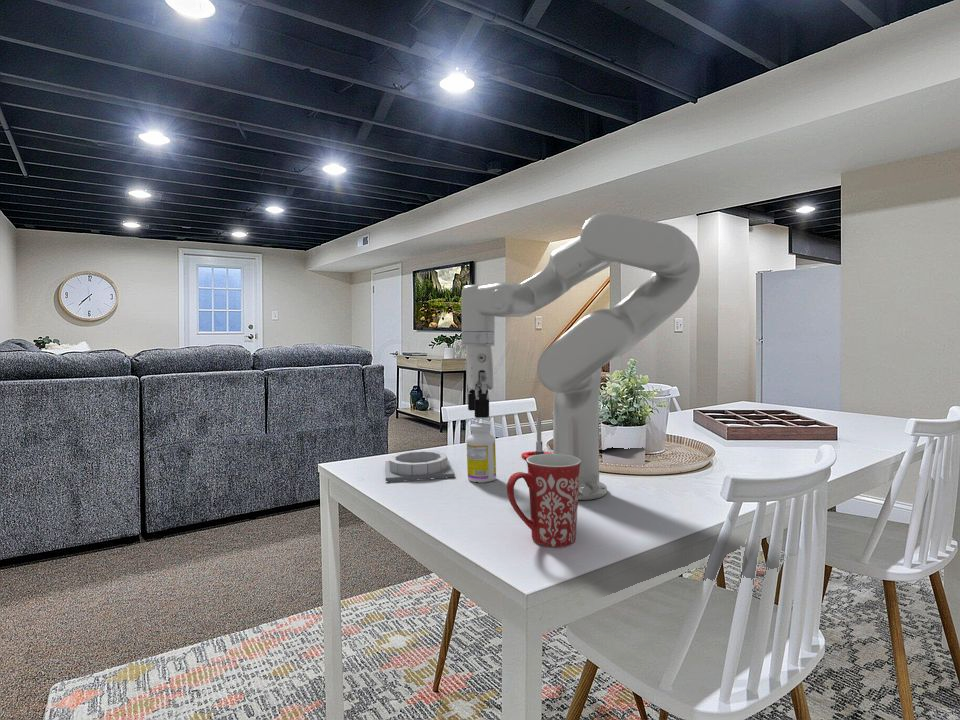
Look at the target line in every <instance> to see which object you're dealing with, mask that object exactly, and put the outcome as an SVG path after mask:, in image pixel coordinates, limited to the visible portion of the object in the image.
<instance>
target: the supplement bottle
mask: <svg viewBox="0 0 960 720" xmlns="http://www.w3.org/2000/svg"><path fill="white" fill-rule="evenodd" d="M469 426H470V427H469V430H470V432H471V433H470V434H469V435H468V436H467V438H466V464H467V468H466V469H467V479H468V481H470V482H473V483H476V482H478V484H481V483H482V484H483V483H484V484H485V483H490V482H494V481H495V480H496V479H497V460H496V459H497V458H496V453H497V452H496V438H495V436H494V434H493V435H492V434H491V429H492V427H491V423H488V422H479V423H478V422H477V423H471V424H470V425H469Z"/></svg>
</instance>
